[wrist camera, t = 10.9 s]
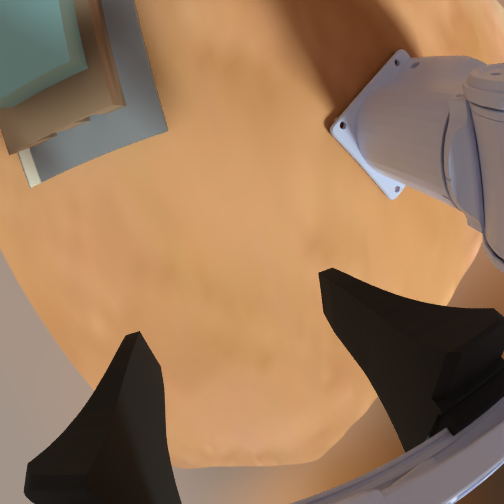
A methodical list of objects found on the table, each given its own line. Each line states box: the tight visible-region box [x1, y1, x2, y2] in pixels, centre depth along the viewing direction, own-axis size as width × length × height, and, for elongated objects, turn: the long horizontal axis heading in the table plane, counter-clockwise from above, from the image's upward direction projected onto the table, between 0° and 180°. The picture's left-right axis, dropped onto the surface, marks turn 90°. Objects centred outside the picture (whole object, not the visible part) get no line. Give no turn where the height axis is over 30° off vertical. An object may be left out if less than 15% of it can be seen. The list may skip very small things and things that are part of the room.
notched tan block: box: [0, 0, 127, 155], centre depth 11 cm, size 9×6×4 cm, turn 13°
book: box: [18, 0, 168, 188], centre depth 13 cm, size 13×9×2 cm
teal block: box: [0, 0, 88, 108], centre depth 8 cm, size 5×4×2 cm
